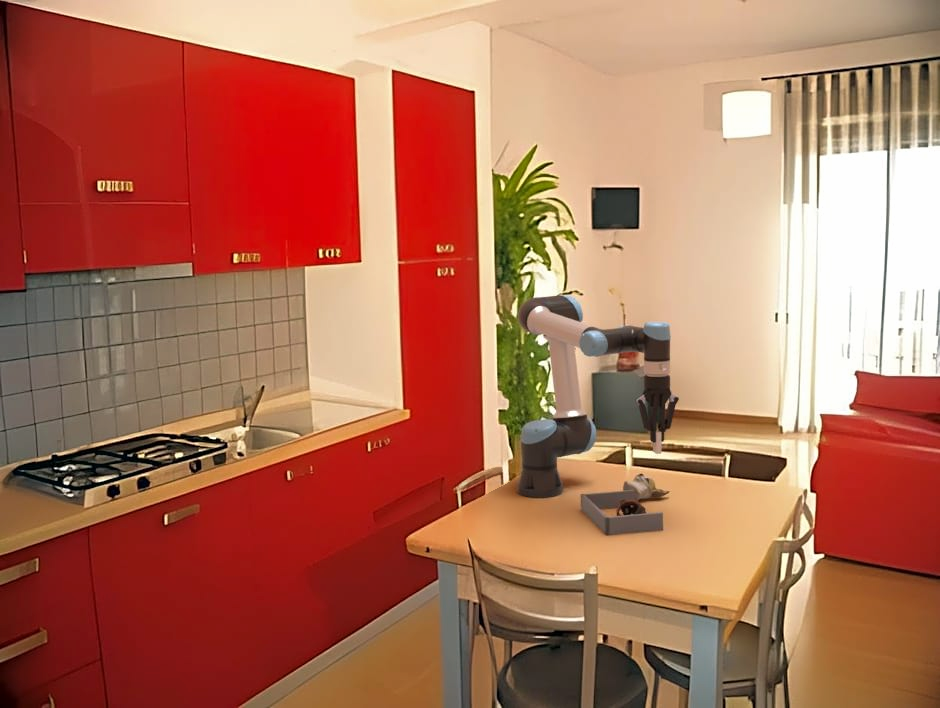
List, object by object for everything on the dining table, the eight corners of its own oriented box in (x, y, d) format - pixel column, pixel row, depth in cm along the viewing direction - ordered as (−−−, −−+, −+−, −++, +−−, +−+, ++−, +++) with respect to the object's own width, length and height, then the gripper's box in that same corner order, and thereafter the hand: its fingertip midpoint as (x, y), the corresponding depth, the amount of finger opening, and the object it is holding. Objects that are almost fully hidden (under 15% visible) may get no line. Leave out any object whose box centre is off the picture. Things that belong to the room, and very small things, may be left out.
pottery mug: (657, 527, 253) (649, 507, 249) (630, 545, 252) (622, 525, 248) (636, 506, 264) (628, 486, 260) (610, 522, 262) (601, 503, 258)
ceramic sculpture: (613, 472, 279) (648, 467, 287) (612, 499, 280) (646, 493, 288) (637, 480, 270) (671, 474, 278) (636, 507, 271) (670, 500, 279)
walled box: (580, 510, 270) (580, 494, 270) (633, 505, 273) (633, 489, 272) (606, 535, 247) (605, 518, 246) (663, 529, 250) (662, 512, 249)
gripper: (640, 377, 252) (641, 457, 255) (683, 375, 254) (683, 454, 257) (631, 373, 259) (631, 451, 262) (672, 371, 261) (672, 448, 265)
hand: (657, 452), depth 260 cm, fingers closed
